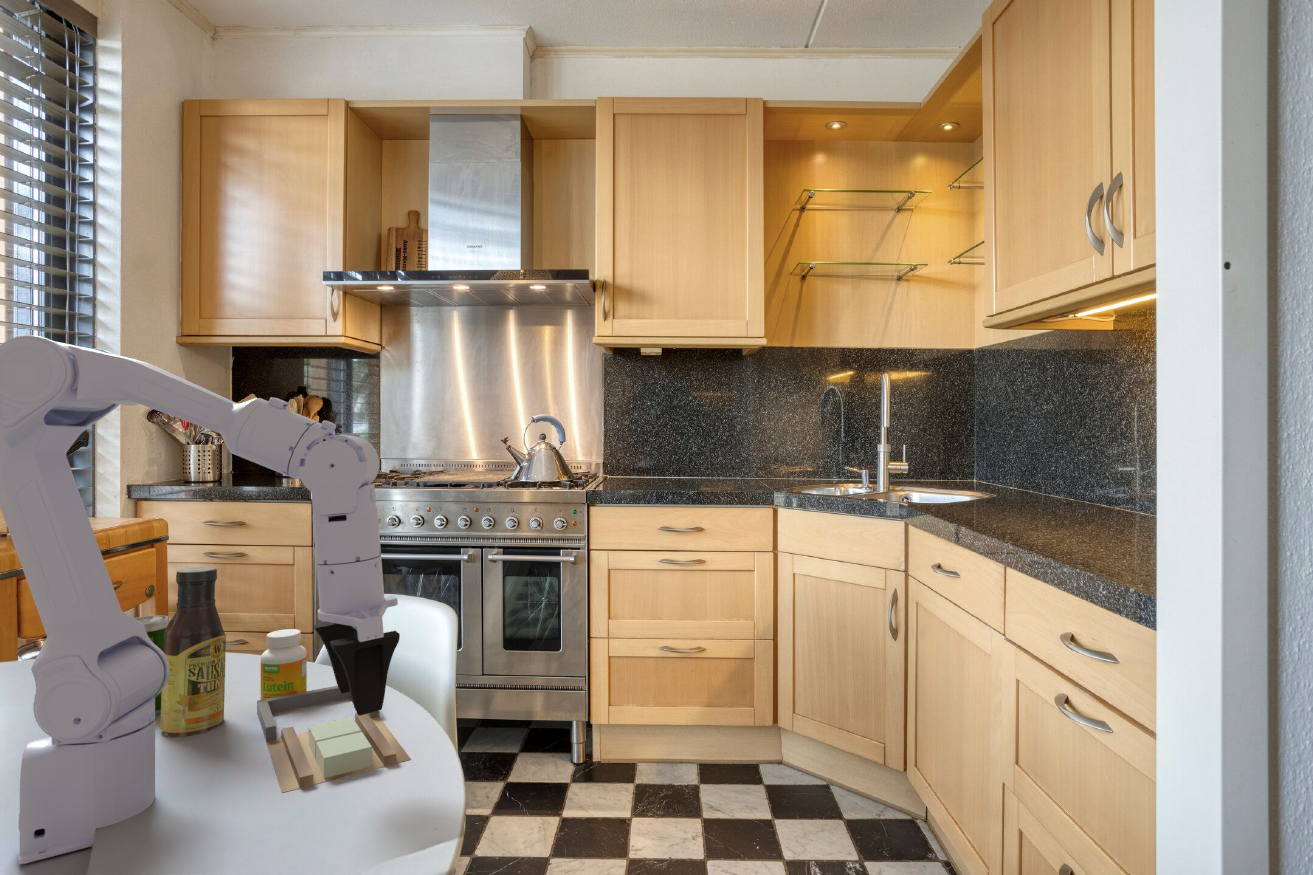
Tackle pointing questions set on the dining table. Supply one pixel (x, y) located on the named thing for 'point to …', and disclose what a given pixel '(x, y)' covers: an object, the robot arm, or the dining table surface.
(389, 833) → the dining table surface
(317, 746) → the tile near
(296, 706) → the box
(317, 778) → the board
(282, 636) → the supplement bottle
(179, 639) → the sauce bottle
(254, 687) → the dining table surface
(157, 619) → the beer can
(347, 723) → the tile far
